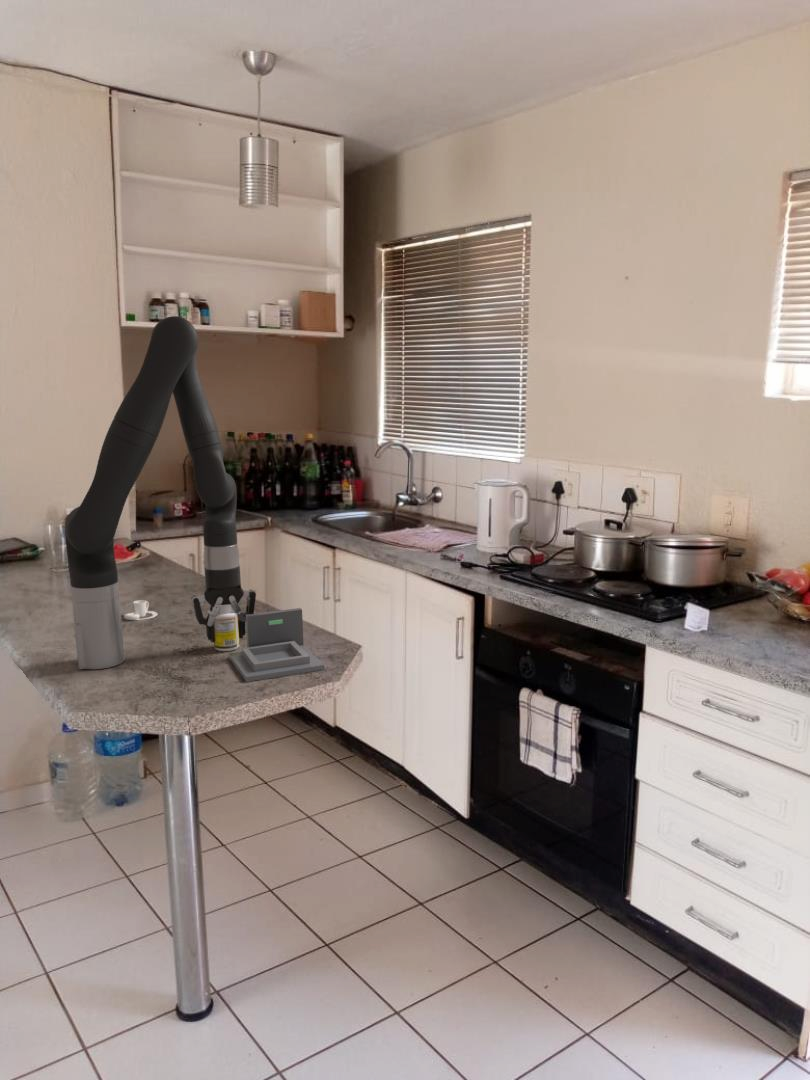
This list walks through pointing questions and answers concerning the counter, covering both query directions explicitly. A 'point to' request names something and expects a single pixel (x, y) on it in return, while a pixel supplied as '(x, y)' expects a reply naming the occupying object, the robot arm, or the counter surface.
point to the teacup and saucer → (139, 611)
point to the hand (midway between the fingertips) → (226, 639)
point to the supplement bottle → (226, 629)
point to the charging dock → (274, 647)
